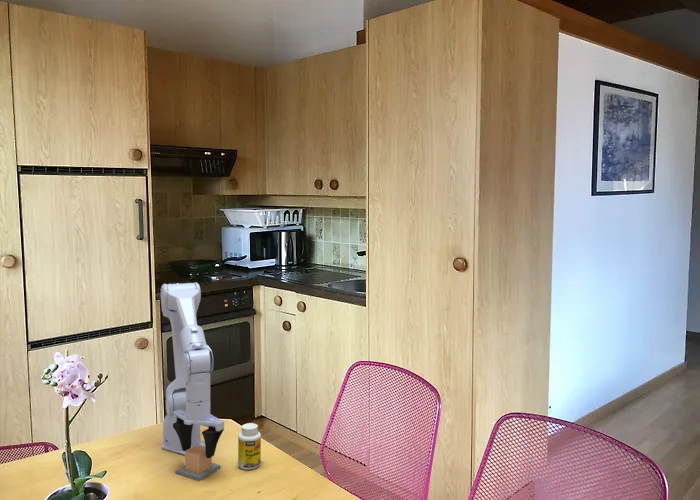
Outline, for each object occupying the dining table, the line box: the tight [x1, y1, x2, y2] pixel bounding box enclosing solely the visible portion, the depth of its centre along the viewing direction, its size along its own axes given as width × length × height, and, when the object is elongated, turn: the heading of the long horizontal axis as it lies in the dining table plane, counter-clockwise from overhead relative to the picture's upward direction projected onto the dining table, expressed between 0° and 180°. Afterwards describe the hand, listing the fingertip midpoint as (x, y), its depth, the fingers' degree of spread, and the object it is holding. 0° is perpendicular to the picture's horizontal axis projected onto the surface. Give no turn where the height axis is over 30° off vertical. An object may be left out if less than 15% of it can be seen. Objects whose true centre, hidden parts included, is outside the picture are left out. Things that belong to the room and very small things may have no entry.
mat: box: [175, 462, 222, 482], centre depth 140 cm, size 8×8×1 cm
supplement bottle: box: [237, 422, 262, 471], centre depth 143 cm, size 6×6×10 cm
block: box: [184, 445, 213, 474], centre depth 140 cm, size 4×4×4 cm
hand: (198, 452), depth 140 cm, fingers open, 7 cm apart
